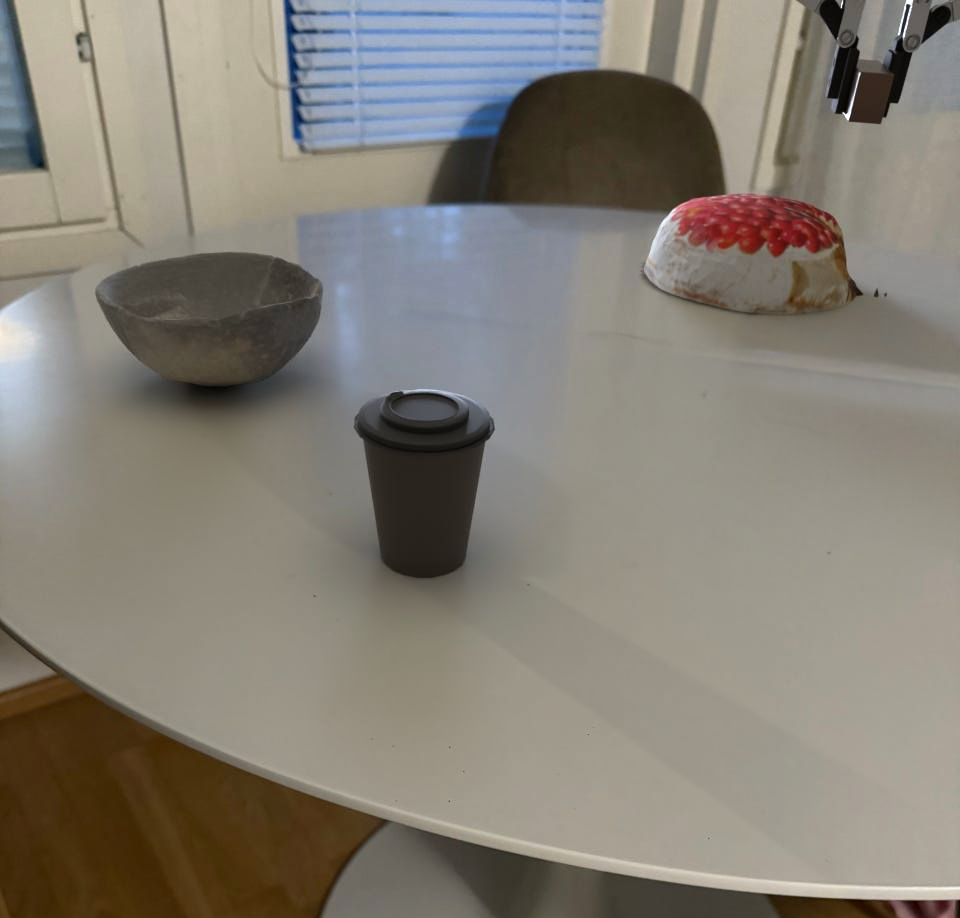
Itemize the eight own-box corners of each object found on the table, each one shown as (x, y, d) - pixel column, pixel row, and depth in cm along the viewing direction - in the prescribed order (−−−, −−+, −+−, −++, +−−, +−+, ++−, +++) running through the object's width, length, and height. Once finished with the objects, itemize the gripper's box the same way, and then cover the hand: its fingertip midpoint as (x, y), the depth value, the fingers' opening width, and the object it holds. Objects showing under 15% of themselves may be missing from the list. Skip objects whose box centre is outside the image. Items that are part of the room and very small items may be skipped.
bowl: (206, 322, 91) (195, 233, 86) (365, 359, 85) (363, 267, 80) (64, 385, 78) (41, 285, 73) (240, 435, 72) (228, 330, 67)
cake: (907, 328, 98) (940, 225, 92) (682, 331, 95) (700, 224, 88) (810, 261, 116) (832, 172, 110) (618, 262, 113) (629, 169, 106)
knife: (881, 124, 65) (894, 74, 64) (848, 121, 66) (860, 71, 64) (852, 89, 80) (863, 46, 78) (825, 86, 80) (835, 44, 78)
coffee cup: (371, 516, 63) (367, 371, 57) (492, 526, 63) (501, 381, 57) (346, 583, 57) (338, 428, 51) (481, 595, 57) (489, 440, 51)
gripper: (813, -244, 56) (746, 112, 67) (1105, -235, 54) (985, 131, 65) (804, -228, 62) (744, 97, 73) (1067, -220, 59) (963, 113, 71)
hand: (858, 110), depth 69 cm, fingers closed on knife, 2 cm apart
